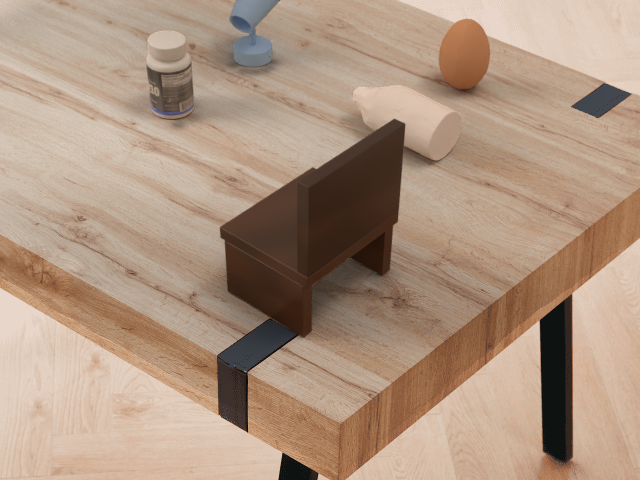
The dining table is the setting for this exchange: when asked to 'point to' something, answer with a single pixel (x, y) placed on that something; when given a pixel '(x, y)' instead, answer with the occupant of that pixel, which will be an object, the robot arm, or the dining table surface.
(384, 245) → the small wooden chair
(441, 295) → the dining table surface
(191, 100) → the pill bottle
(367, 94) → the beige bottle
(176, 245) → the dining table surface
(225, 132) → the dining table surface
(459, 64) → the egg
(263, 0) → the spotlight
